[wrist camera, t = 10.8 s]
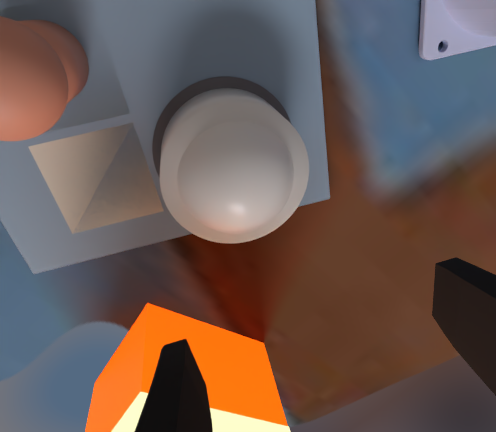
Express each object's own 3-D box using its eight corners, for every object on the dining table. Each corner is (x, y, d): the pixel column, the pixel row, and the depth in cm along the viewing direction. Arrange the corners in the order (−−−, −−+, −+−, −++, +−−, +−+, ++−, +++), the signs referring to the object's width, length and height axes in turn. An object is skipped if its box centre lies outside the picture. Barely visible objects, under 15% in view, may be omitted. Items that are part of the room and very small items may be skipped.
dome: (279, 74, 16) (319, 96, 12) (295, 195, 19) (331, 247, 15) (142, 105, 16) (133, 139, 11) (181, 224, 19) (184, 286, 14)
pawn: (73, 5, 14) (11, 0, 8) (106, 96, 16) (73, 141, 10) (-19, 24, 14) (-144, 31, 8) (25, 114, 15) (-54, 170, 10)
